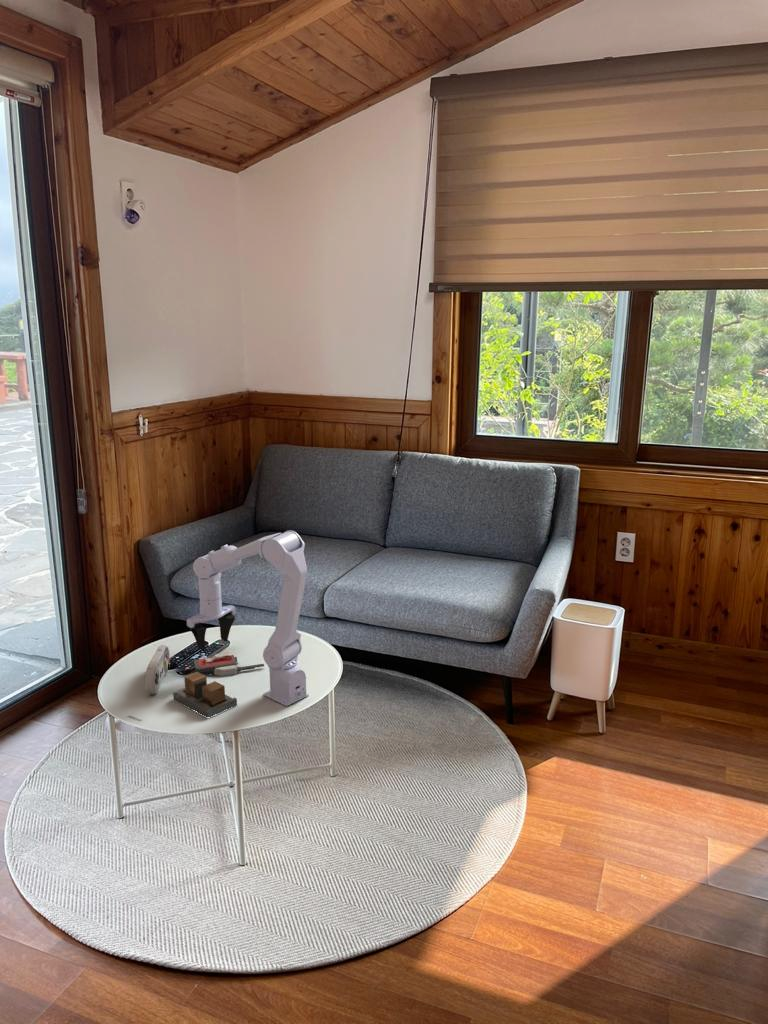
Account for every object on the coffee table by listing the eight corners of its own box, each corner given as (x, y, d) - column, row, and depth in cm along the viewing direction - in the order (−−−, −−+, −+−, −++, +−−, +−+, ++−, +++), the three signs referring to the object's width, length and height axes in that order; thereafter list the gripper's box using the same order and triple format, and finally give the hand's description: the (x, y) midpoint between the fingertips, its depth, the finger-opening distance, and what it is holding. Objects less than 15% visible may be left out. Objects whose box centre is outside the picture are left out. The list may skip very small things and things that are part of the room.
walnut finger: (208, 697, 202) (207, 676, 200) (196, 703, 199) (194, 682, 197) (198, 692, 205) (197, 671, 203) (185, 697, 202) (184, 676, 200)
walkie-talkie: (193, 682, 212) (265, 671, 219) (192, 667, 211) (264, 656, 218) (189, 669, 220) (258, 658, 227) (188, 654, 219) (258, 644, 226)
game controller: (155, 699, 202) (152, 670, 200) (146, 699, 201) (143, 670, 199) (171, 667, 220) (169, 640, 218) (163, 667, 220) (161, 640, 218)
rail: (237, 705, 198) (236, 684, 197) (208, 718, 192) (206, 696, 190) (202, 687, 208) (201, 667, 206) (173, 699, 201) (172, 678, 200)
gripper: (223, 587, 216) (225, 632, 219) (178, 601, 205) (182, 648, 209) (239, 593, 211) (241, 639, 215) (194, 607, 201) (197, 655, 204)
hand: (213, 644), depth 211 cm, fingers open, 7 cm apart
